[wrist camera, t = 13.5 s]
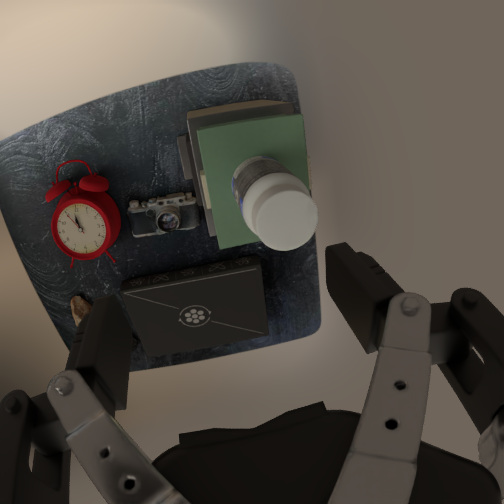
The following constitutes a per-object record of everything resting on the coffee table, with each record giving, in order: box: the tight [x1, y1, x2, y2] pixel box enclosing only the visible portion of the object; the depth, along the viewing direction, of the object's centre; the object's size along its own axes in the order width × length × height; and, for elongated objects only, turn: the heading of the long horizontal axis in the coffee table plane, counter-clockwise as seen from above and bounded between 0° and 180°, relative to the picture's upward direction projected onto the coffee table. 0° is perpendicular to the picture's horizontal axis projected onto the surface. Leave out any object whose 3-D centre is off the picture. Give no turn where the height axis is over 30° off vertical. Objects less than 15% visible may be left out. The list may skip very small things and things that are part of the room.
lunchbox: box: [197, 114, 312, 249], centre depth 29 cm, size 11×9×4 cm
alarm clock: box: [45, 160, 121, 268], centre depth 40 cm, size 10×6×15 cm
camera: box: [127, 192, 201, 238], centre depth 43 cm, size 5×10×4 cm, turn 93°
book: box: [120, 255, 269, 357], centre depth 52 cm, size 22×15×3 cm
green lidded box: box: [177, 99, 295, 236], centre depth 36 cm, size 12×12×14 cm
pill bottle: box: [232, 156, 319, 251], centre depth 23 cm, size 5×5×8 cm
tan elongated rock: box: [70, 296, 92, 327], centre depth 49 cm, size 10×4×5 cm
